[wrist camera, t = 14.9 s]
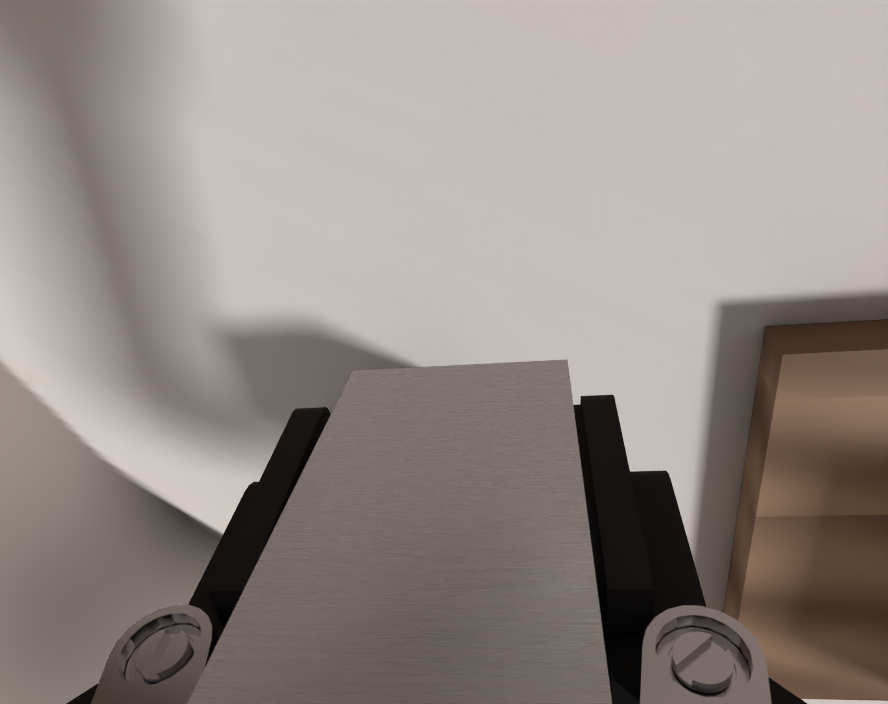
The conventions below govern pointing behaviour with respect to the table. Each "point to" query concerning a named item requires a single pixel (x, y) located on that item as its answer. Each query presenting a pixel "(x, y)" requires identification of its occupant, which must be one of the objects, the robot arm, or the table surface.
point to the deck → (817, 511)
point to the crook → (427, 553)
